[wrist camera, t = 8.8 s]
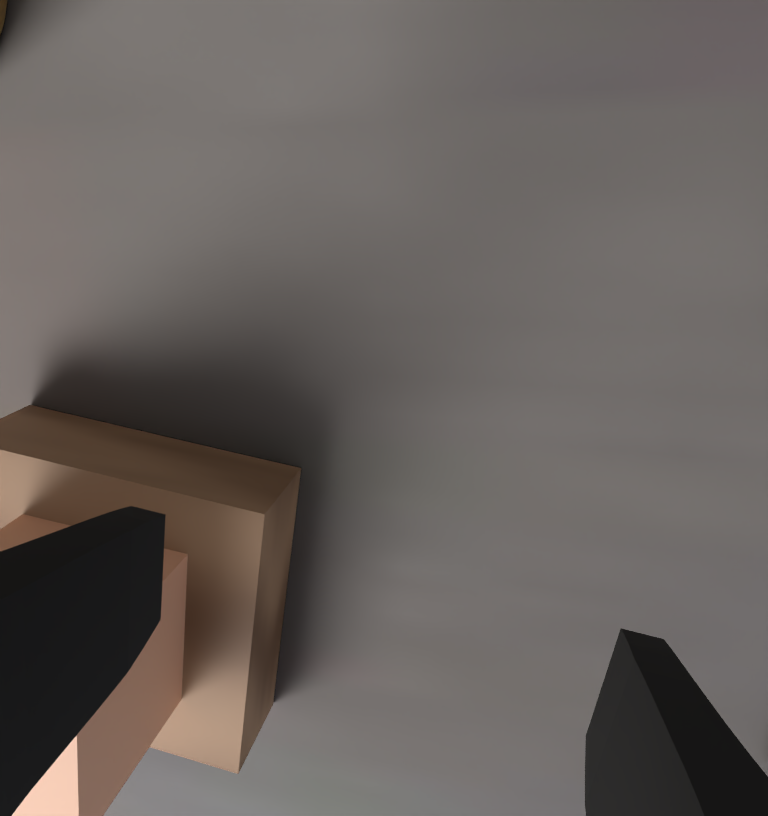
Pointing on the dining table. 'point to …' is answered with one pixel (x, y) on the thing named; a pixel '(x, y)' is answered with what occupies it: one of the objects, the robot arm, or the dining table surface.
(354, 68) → the dining table surface
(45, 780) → the terracotta cube
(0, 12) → the plant pot
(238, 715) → the tan square slab
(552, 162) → the dining table surface
